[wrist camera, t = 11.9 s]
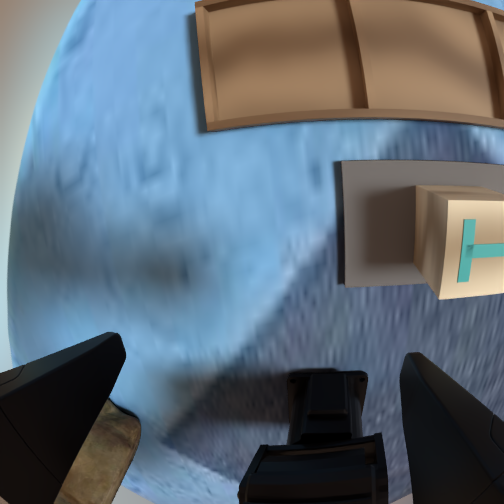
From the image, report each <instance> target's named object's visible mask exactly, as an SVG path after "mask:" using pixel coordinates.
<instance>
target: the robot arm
mask: <svg viewBox="0 0 504 504" xmlns="http://www.w3.org/2000/svg"><path fill="white" fill-rule="evenodd" d="M125 360H126V351H125V348H124V345H123V342H122V338H121V336H120V335H119V334H118V333H114V332H106V333H104V334H101V335H99V336H96V337H94V338H91V339H89V340H86V341H84V342H81V343H79V344H76V345H73V346H71V347H68V348H66V349H63V350H61V351H58V352H56V353H53V354H50V355H48V356H45V357H43V358H40V359H37V360H35V361H32V362H30V363H27V364H26V365H22V366H19V367H16V368H13V369H11V370H8V371H5V372H2V373H0V504H54V502H55V500H56V498H57V496H58V494H59V492H60V489H61V487H62V484H63V483H64V481H65V479H66V477H67V475H68V473H69V471H70V469H71V467H72V465H73V463H74V461H75V459H76V457H77V455H78V453H79V451H80V449H81V447H82V446H83V444H84V442H85V440H86V438H87V436H88V434H89V432H90V430H91V429H92V427H93V425H94V423H95V421H96V419H97V418H98V416H99V414H100V412H101V410H102V408H103V407H104V405H105V403H106V401H107V399H108V398H109V396H110V394H111V392H112V389H113V387H114V385H115V383H116V380H117V378H118V376H119V373H120V371H121V369H122V366H123V364H124V362H125ZM362 377H363V378H362ZM360 378H362V379H360ZM292 379H295V380H292ZM367 383H368V374H367V373H365V372H350V373H293V374H290V375H288V378H287V389H288V408H289V423H290V426H289V432H288V439H287V445H272V446H269V445H260V447H259V449H258V451H257V453H256V454H255V456H254V458H253V460H252V462H251V464H250V466H249V468H248V470H247V471H246V473H245V475H244V477H243V479H242V481H241V483H240V485H239V491H238V494H237V497H238V499H239V504H388V474H387V465H386V458H385V451H384V444H383V438H382V432H381V433H375V434H374V435H371V436H365V437H363V433H362V419H361V416H362V411H363V406H364V401H365V395H366V389H367ZM400 393H401V406H402V421H403V429H404V436H405V442H406V448H407V454H408V461H409V469H410V476H411V485H412V494H413V504H504V421H502V420H501V419H500V418H499V417H498V416H497V415H495V414H494V415H493V412H492V411H491V410H489V409H488V408H487V407H486V406H485V405H483V404H482V403H481V402H480V401H479V400H478V399H476V398H475V397H474V396H473V395H472V394H470V393H469V392H468V391H467V390H466V389H464V388H463V387H462V386H461V385H459V384H458V383H457V382H456V381H455V380H453V379H452V378H451V377H450V376H449V375H447V374H446V373H445V372H444V371H442V370H441V369H440V368H439V367H438V366H436V365H435V364H434V363H433V362H431V361H430V360H429V359H428V358H426V357H425V356H424V355H423V354H421V353H420V352H413V353H407V354H406V356H405V359H404V362H403V366H402V369H401V373H400Z"/></svg>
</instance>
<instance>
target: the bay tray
mask: <svg viewBox="0 0 504 504" xmlns="http://www.w3.org/2000/svg"><path fill="white" fill-rule="evenodd" d="M195 11H196V23H197V35H198V46H199V57H200V67H201V77H202V87H203V96H204V105H205V114H206V123H207V131H213V132H217V131H223V130H230V129H238V128H245V127H254V126H262V125H272V124H282V123H294V122H308V121H326V120H359V119H386V120H418V121H435V122H448V123H459V124H468V125H477V126H485V127H492V128H499V129H504V11H503V10H500V9H497V8H494V7H491V6H488V5H485V4H482V3H479V2H475V1H472V0H202V1H198V2H195Z"/></svg>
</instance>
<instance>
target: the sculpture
mask: <svg viewBox="0 0 504 504" xmlns="http://www.w3.org/2000/svg"><path fill="white" fill-rule="evenodd" d="M140 437H141V424H140V421H139V420H138V419H137V418H135V417H133V416H129V415H126V414H124V413H123V412H121V411H120V410H119V409H118V408H117V407H116V406H115V405H114V404H113V403H112V402H111V401H110V400H108V399H107V401H106V403H105V405H104V407H103V408H102V410H101V412H100V414H99V416H98V418H97V419H96V421H95V423H94V425H93V427H92V429H91V430H90V432H89V434H88V436H87V438H86V440H85V442H84V444H83V446H82V447H81V449H80V451H79V453H78V455H77V457H76V459H75V461H74V463H73V465H72V467H71V469H70V471H69V473H68V475H67V477H66V479H65V481H64V483H63V484H62V487H61V489H60V492H59V494H58V496H57V498H56V500H55V502H54V504H111V503H112V501H113V499H114V497H115V495H116V493H117V491H118V489H119V487H120V485H121V483H122V481H123V478H124V476H125V474H126V472H127V470H128V468H129V466H130V464H131V462H132V460H133V458H134V455H135V452H136V450H137V447H138V444H139V441H140Z"/></svg>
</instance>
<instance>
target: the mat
mask: <svg viewBox="0 0 504 504" xmlns="http://www.w3.org/2000/svg"><path fill="white" fill-rule="evenodd" d="M341 172H342V188H343V209H344V246H345V288H346V287H370V286H390V285H408V284H424V283H427V282H426V280H425V279H424V277H423V276H422V275H421V273H420V272H419V270H418V269H417V268H416V266H415V265H414V264H413V259H414V244H415V221H416V185H443V186H479V187H484V188H487V189H490V190H493V191H496V192H499V193H501V194H504V165H499V164H487V163H473V162H457V161H433V160H349V161H341Z"/></svg>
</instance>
